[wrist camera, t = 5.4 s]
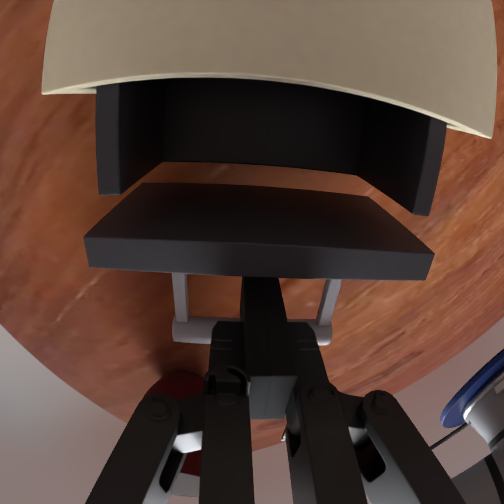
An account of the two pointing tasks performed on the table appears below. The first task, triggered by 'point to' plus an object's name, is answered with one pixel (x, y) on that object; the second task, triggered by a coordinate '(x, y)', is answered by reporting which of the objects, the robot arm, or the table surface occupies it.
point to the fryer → (288, 48)
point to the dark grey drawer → (260, 187)
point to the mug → (189, 476)
